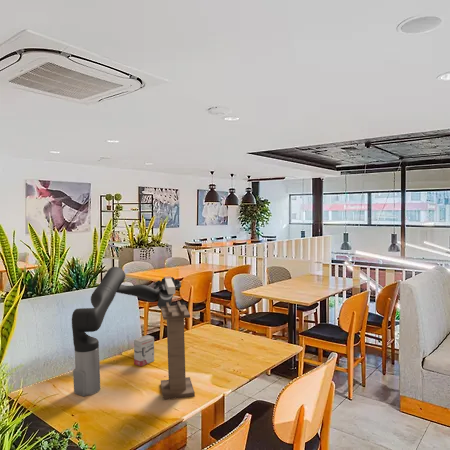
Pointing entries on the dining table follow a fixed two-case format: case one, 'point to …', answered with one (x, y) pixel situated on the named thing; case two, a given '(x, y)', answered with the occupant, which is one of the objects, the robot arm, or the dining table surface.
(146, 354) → the ink box
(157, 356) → the dining table surface
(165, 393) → the wooden pedestal post
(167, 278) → the cream white long bar
